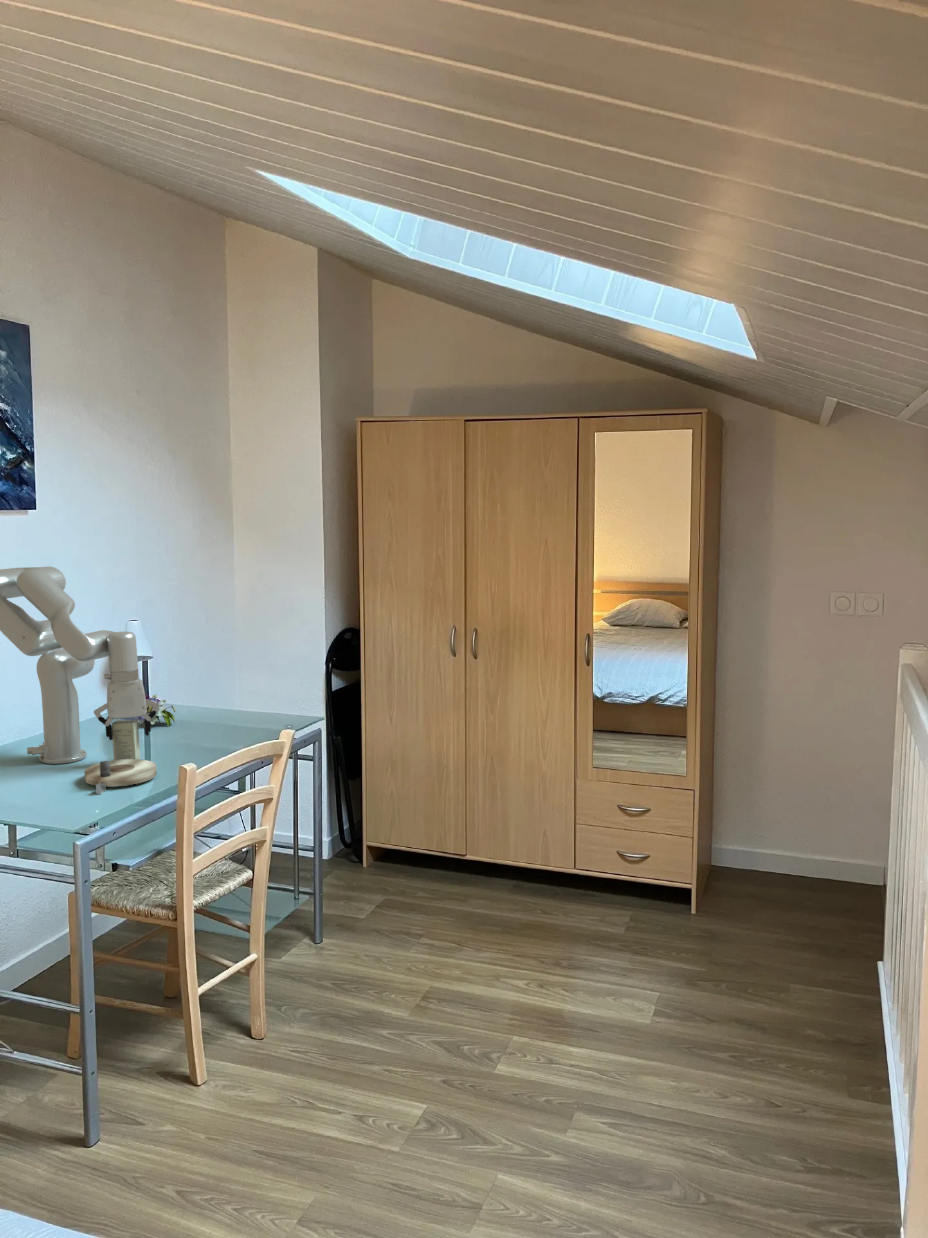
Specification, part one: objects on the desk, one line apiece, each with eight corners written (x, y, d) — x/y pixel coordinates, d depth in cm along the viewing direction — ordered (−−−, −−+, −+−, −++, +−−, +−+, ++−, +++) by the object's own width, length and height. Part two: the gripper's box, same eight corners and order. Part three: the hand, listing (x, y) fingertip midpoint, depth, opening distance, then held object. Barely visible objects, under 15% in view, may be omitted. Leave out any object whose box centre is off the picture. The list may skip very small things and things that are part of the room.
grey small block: (102, 790, 251) (102, 781, 251) (107, 790, 251) (106, 781, 251) (96, 794, 248) (95, 785, 248) (100, 794, 248) (100, 785, 247)
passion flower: (146, 743, 318) (123, 715, 316) (161, 729, 329) (138, 701, 327) (171, 726, 315) (147, 697, 313) (185, 713, 325) (162, 684, 323)
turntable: (70, 783, 254) (69, 761, 253) (110, 765, 271) (109, 744, 271) (132, 788, 250) (131, 766, 249) (169, 769, 267) (168, 748, 266)
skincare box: (140, 761, 278) (139, 719, 276) (136, 766, 273) (134, 723, 272) (117, 761, 277) (116, 719, 276) (112, 766, 273) (111, 723, 272)
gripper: (92, 681, 265) (97, 743, 267) (158, 675, 272) (162, 735, 274) (90, 677, 272) (94, 738, 274) (154, 671, 279) (159, 730, 281)
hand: (128, 736), depth 274 cm, fingers open, 9 cm apart
